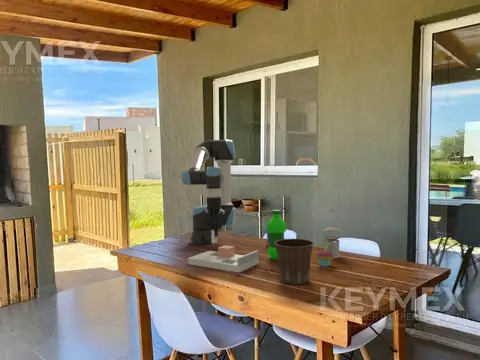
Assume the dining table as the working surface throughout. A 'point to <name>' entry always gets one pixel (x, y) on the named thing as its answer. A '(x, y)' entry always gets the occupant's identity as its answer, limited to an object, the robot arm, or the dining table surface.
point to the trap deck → (225, 261)
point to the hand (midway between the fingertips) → (214, 242)
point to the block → (226, 251)
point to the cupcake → (324, 257)
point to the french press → (332, 241)
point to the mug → (267, 237)
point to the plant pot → (294, 260)
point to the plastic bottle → (275, 232)
